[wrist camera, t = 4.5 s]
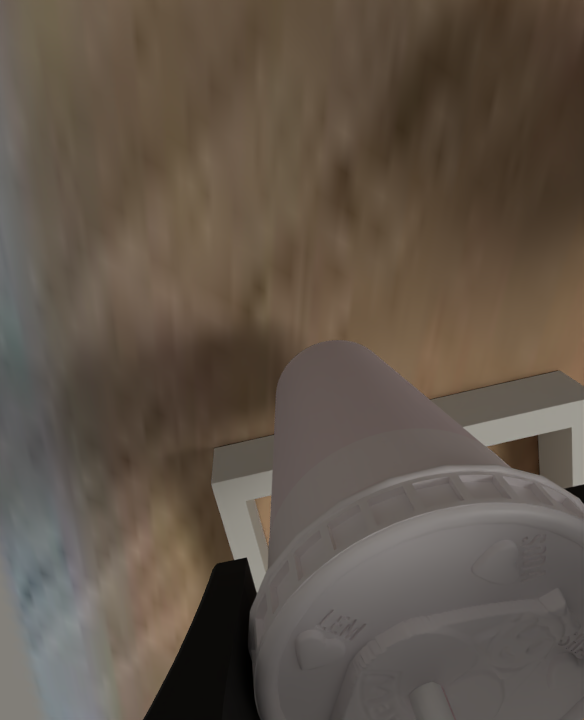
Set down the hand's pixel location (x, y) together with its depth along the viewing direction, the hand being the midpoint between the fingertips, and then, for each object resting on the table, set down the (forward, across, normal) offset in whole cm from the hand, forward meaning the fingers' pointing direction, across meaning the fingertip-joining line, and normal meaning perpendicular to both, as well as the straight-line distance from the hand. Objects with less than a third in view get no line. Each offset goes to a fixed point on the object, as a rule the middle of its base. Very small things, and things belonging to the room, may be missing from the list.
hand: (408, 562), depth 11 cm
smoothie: (+7, 0, -1) cm, 7 cm away
